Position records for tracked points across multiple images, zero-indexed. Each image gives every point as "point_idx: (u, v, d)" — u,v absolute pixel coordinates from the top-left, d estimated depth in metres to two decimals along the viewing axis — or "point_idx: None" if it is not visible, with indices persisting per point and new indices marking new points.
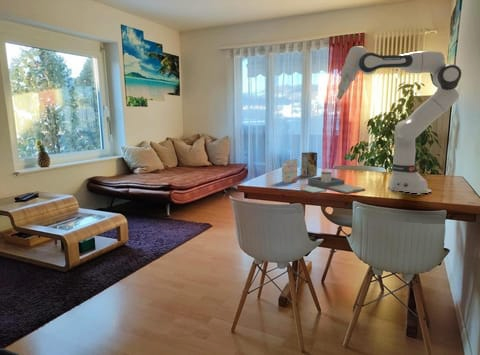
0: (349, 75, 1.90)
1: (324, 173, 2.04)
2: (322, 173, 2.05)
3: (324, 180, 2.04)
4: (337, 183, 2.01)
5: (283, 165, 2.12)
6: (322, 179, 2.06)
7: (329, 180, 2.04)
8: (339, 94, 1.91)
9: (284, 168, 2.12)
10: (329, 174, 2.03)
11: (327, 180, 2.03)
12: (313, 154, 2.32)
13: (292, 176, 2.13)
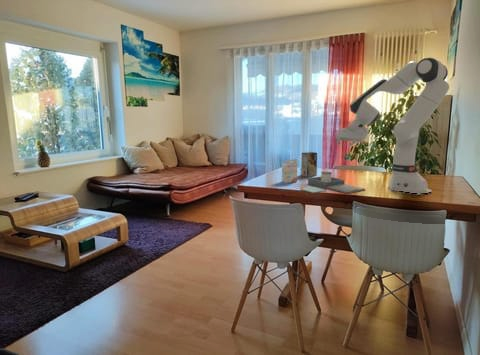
0: None
1: (324, 173, 2.04)
2: (322, 173, 2.05)
3: (324, 180, 2.04)
4: (337, 183, 2.01)
5: (283, 165, 2.12)
6: (322, 179, 2.06)
7: (329, 180, 2.04)
8: None
9: (284, 168, 2.12)
10: (329, 174, 2.03)
11: (327, 180, 2.03)
12: (313, 154, 2.32)
13: (292, 176, 2.13)
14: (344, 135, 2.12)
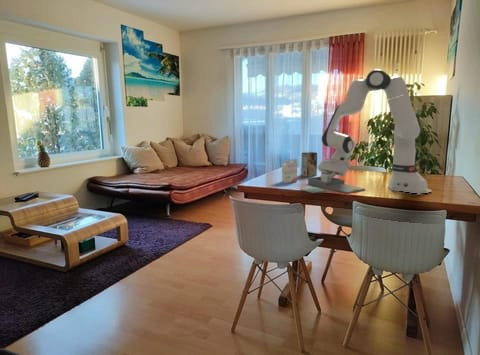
0: None
1: (324, 173, 2.04)
2: (322, 173, 2.05)
3: (324, 180, 2.04)
4: (337, 183, 2.01)
5: (283, 165, 2.12)
6: (322, 179, 2.06)
7: (329, 180, 2.04)
8: None
9: (284, 168, 2.12)
10: (329, 174, 2.03)
11: (327, 180, 2.03)
12: (313, 154, 2.32)
13: (292, 176, 2.13)
14: (326, 167, 2.08)
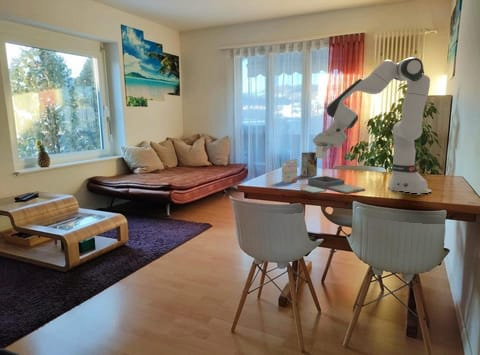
0: None
1: (319, 145, 1.94)
2: (317, 145, 1.95)
3: (319, 153, 1.95)
4: (337, 183, 2.01)
5: (283, 165, 2.12)
6: (317, 152, 1.96)
7: (324, 153, 1.95)
8: None
9: (284, 168, 2.12)
10: (324, 146, 1.94)
11: (322, 152, 1.94)
12: (313, 154, 2.32)
13: (292, 176, 2.13)
14: (321, 140, 1.98)
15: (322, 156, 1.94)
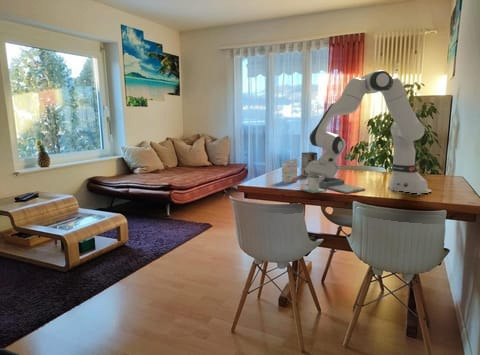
0: None
1: (311, 177, 1.89)
2: (309, 177, 1.90)
3: (311, 184, 1.90)
4: (337, 183, 2.01)
5: (283, 165, 2.12)
6: (309, 183, 1.91)
7: (317, 184, 1.90)
8: None
9: (284, 168, 2.12)
10: (317, 178, 1.89)
11: (315, 184, 1.89)
12: (313, 154, 2.32)
13: (292, 176, 2.13)
14: (313, 169, 1.93)
15: (315, 188, 1.89)
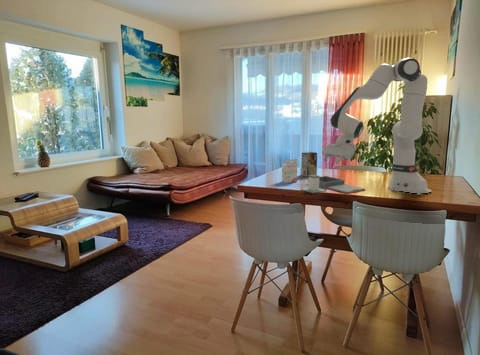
0: None
1: (311, 177, 1.89)
2: (309, 177, 1.90)
3: (311, 184, 1.90)
4: (337, 183, 2.01)
5: (283, 165, 2.12)
6: (309, 183, 1.91)
7: (317, 184, 1.90)
8: None
9: (284, 168, 2.12)
10: (317, 178, 1.89)
11: (315, 184, 1.89)
12: (313, 154, 2.32)
13: (292, 176, 2.13)
14: (331, 151, 1.98)
15: (315, 188, 1.89)
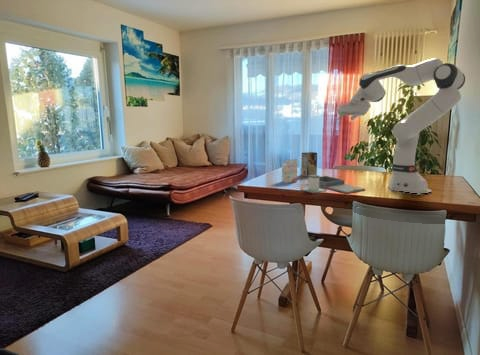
0: None
1: (311, 177, 1.89)
2: (309, 177, 1.90)
3: (311, 184, 1.90)
4: (337, 183, 2.01)
5: (283, 165, 2.12)
6: (309, 183, 1.91)
7: (317, 184, 1.90)
8: None
9: (284, 168, 2.12)
10: (317, 178, 1.89)
11: (315, 184, 1.89)
12: (313, 154, 2.32)
13: (292, 176, 2.13)
14: (346, 109, 2.09)
15: (315, 188, 1.89)
